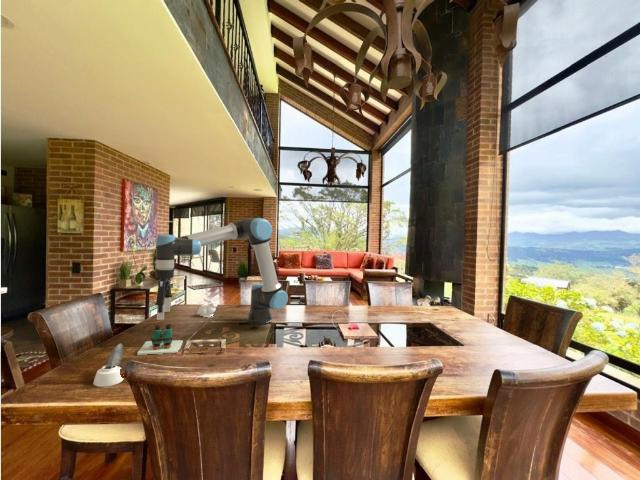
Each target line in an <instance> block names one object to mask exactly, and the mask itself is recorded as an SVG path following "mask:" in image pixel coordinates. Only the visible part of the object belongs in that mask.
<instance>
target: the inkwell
mask: <svg viewBox="0 0 640 480" xmlns="http://www.w3.org/2000/svg"><path fill="white" fill-rule="evenodd" d="M124 352H125V350H124V345H123V343H118V344H117V345H115V347H114V348H113V349H112V350H111V351H110V354H108V357H107V359H106V363H105V365H103V366H102V367H101V368H100V369H97V371H96V374H95V376H94V379H93V382H92V383H93V385H94V386H95V387H97V388H98V387H99V388H102V387H103V388H106V387H112V386H115V385H118V384H120V383H121V382H123V380H124V378H125V377H124V378H122V377H121V375H120V369H122V367H120V366H119V365H121V363H122V361H123V359H124V358H123V357H124Z"/></svg>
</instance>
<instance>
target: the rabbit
mask: <svg viewBox="0 0 640 480" xmlns="http://www.w3.org/2000/svg"><path fill="white" fill-rule="evenodd" d="M203 301H204V302H207V303H203V304H201V305H200V306H199V308H198V310H197V315H199V316H200V317H201V316H203V317H202V318H205V317H208V318H212V317H214V316H213V315H214V313H215V312H216V310H217V309H216V308H217V307H218V303H217V301H212V300H210V299H208V298H206V297H204V299H203ZM211 316H212V317H211Z"/></svg>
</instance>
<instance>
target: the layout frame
mask: <svg viewBox="0 0 640 480" xmlns="http://www.w3.org/2000/svg"><path fill="white" fill-rule="evenodd" d="M193 343H194V344H196V343H197V347H203V346H204V345H203V344H199V343H211V344H208V346H209V347H214V346H215V345H214V344H213V343H221V344H220V349H221V348H225V349H226V345H227V339H226V338H225V339H224V338H223V339H222V338H221V339H218V338H217V339H190V340H189V339H188V340H186V343H185V345H184V347H183V350H184V349H185V348H189V347H191V345H192V344H193ZM189 349H190V348H189Z"/></svg>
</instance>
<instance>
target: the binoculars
mask: <svg viewBox="0 0 640 480" xmlns="http://www.w3.org/2000/svg"><path fill="white" fill-rule="evenodd" d="M171 325H172V324H171V323H168V324H166V325H165V328H164V329H163V330H162V329H161V328H160V327H161V325H159V324H154V328H155V329H153V330H152V336H151V338H150V341H152V344H153V345H154V346H153V349H154V350H157V349H159V348H160V344H161V343H162V341H163V343H164V348H171V342H172V341H173V328H171Z"/></svg>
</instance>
